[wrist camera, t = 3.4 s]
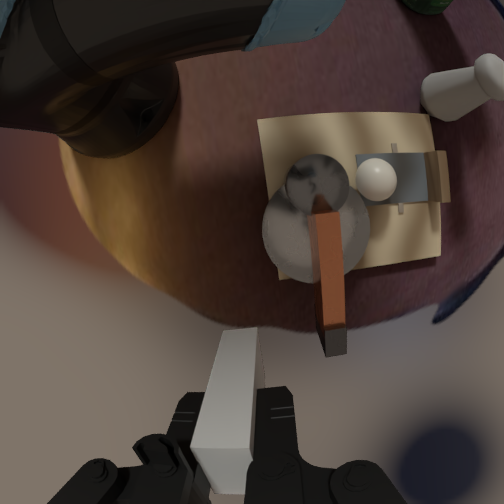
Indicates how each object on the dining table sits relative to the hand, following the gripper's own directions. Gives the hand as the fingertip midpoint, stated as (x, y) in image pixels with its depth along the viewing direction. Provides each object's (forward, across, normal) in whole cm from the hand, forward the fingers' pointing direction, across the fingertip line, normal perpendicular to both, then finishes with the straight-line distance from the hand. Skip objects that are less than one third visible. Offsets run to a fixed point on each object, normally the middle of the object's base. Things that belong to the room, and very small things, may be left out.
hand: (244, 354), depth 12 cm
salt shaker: (+18, +23, +16) cm, 33 cm away
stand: (+18, +12, +6) cm, 22 cm away
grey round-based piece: (+16, +6, +1) cm, 17 cm away
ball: (+16, +12, +7) cm, 21 cm away
